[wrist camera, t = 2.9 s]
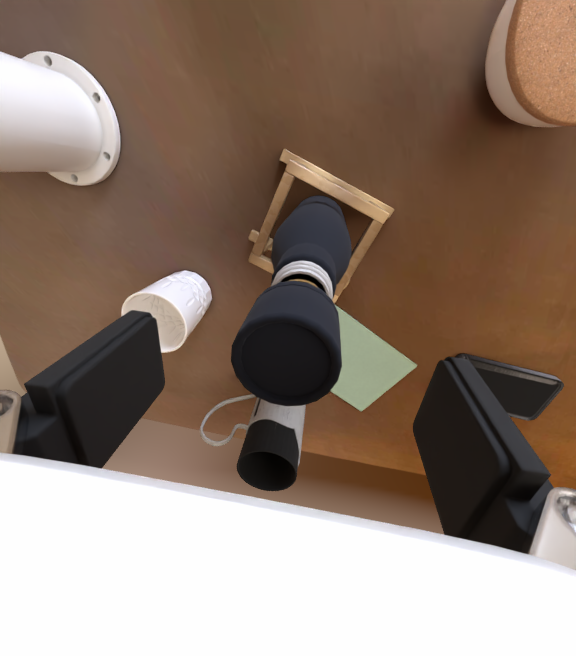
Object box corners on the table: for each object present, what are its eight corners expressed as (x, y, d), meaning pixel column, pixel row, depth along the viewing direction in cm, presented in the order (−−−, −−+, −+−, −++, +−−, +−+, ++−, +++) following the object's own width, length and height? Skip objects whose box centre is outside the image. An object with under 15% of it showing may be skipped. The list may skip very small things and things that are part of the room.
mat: (261, 343, 46) (261, 345, 45) (309, 285, 40) (308, 286, 40) (361, 409, 49) (361, 411, 49) (416, 364, 44) (417, 366, 44)
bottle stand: (249, 237, 38) (228, 256, 30) (284, 149, 33) (270, 142, 25) (345, 286, 40) (348, 315, 32) (392, 208, 34) (411, 220, 26)
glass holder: (299, 417, 52) (288, 502, 39) (222, 390, 51) (184, 467, 38) (317, 381, 48) (312, 462, 34) (234, 351, 47) (196, 422, 34)
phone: (461, 356, 41) (567, 382, 41) (458, 351, 42) (562, 377, 42) (435, 398, 45) (533, 422, 45) (433, 393, 46) (528, 417, 46)
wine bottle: (342, 250, 37) (371, 439, 11) (292, 250, 38) (208, 426, 12) (345, 194, 34) (395, 275, 8) (291, 195, 35) (176, 273, 9)
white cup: (218, 273, 41) (188, 301, 32) (213, 322, 45) (185, 359, 36) (163, 260, 41) (118, 284, 32) (163, 310, 45) (123, 344, 36)
